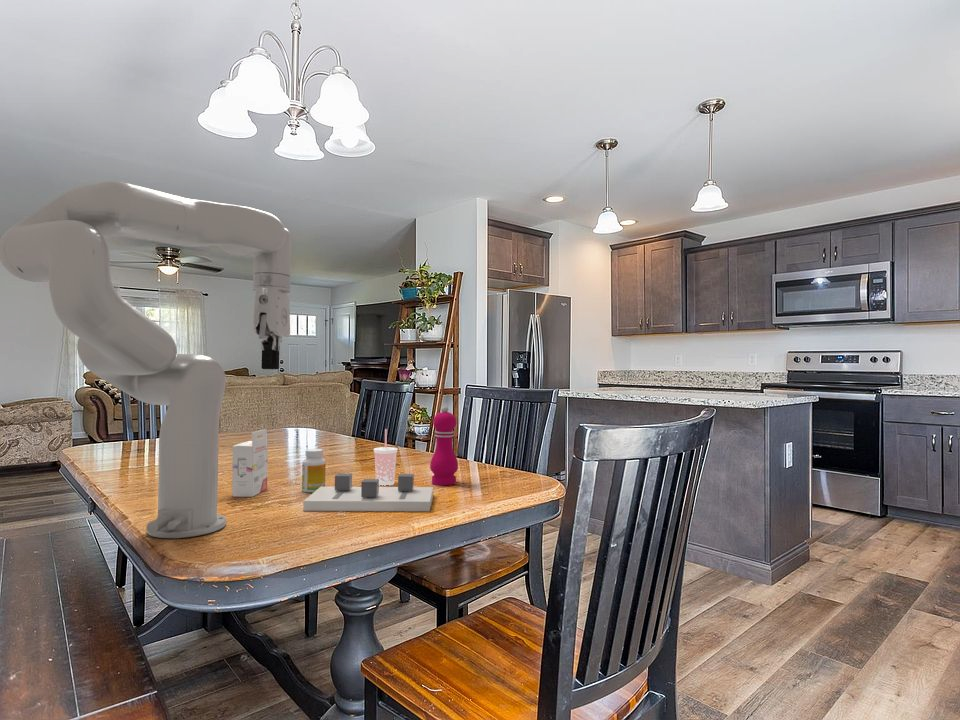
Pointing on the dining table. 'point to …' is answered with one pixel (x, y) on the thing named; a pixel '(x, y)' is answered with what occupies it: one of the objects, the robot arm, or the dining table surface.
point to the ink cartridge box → (250, 466)
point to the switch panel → (369, 500)
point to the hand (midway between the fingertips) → (270, 369)
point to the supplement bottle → (313, 470)
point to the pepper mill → (444, 449)
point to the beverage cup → (385, 463)
